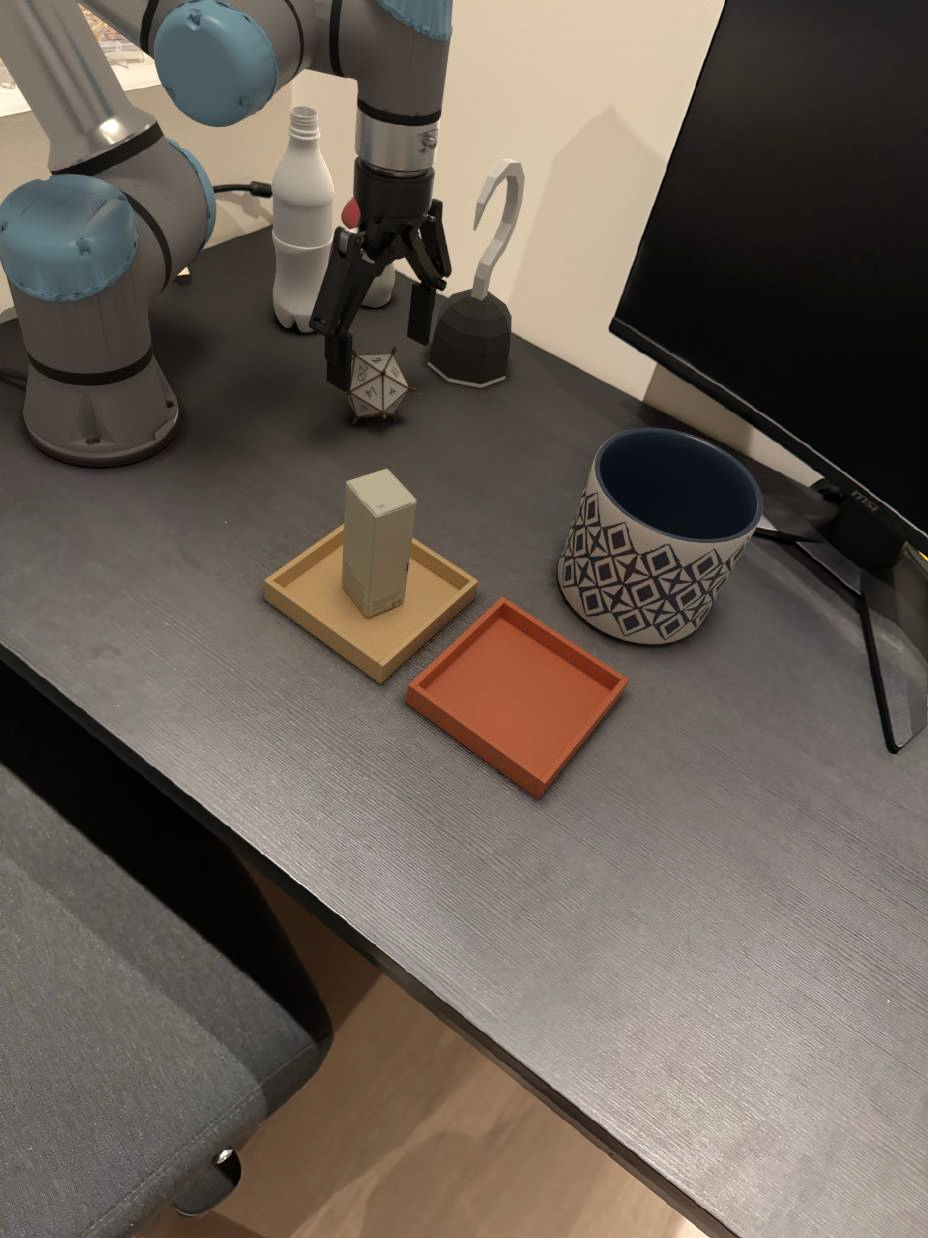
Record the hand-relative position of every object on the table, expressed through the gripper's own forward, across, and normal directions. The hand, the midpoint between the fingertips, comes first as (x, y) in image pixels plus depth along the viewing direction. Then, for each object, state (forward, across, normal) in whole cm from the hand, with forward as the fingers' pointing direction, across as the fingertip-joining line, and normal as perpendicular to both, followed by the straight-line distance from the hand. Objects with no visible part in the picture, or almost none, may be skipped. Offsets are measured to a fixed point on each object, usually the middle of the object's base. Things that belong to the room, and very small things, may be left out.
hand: (379, 362), depth 94 cm
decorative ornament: (+7, +20, +18) cm, 28 cm away
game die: (+7, 0, 0) cm, 7 cm away
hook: (+8, +18, -1) cm, 19 cm away
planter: (+8, -2, -37) cm, 37 cm away
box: (+7, -22, -18) cm, 30 cm away
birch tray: (+7, -22, -19) cm, 30 cm away
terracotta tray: (+8, -22, -36) cm, 43 cm away
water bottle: (+7, +8, +19) cm, 22 cm away
